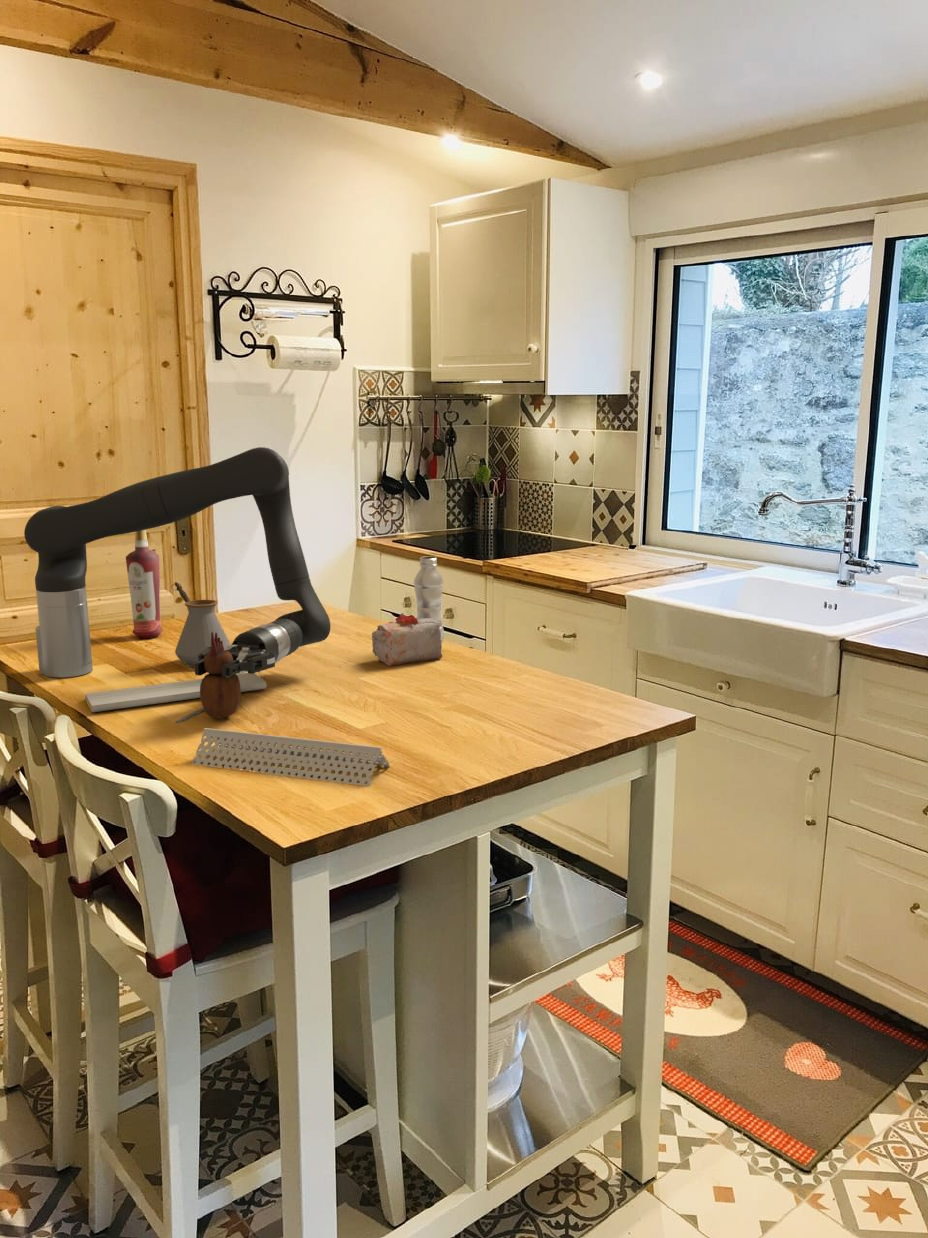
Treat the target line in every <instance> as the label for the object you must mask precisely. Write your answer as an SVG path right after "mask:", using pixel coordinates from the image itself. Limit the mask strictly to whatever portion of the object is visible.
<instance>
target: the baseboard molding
mask: <svg viewBox="0 0 928 1238" xmlns="http://www.w3.org/2000/svg"><path fill="white" fill-rule="evenodd" d="M257 673H258V674H260V672H257ZM257 673H253V674H249V673H248V672H244V673H242V674H238V673H237V674H236V675H237V676H238V678H239V681H240V689H241V693H244V692H252V691H258V690H265V689H267V687H268V686H267V684H268V683H267V681H266V680H264V679H263V678H265V676H264V675H263V674H261V676H262V677H263V678H261V677H260V676H259V675H258V674H257ZM202 679H203V678H197V679H190V680H189V679H188V680H183V681H182V680H180V681H175V682H173V681H172V682H167V683H166V682H165V683H158V684H157V683H156V684H150V685H142V686H135V687H128V688H121V689H120V688H119V689H112V690H104V691H95V692H88V693H84V701H85V702H86V704H87V706H88V707H89V710H90V711H91V713H97V712H106V711H111V710H119V709H127V708H128V709H129V708H134V707H142V706H150V705H156V704H164V703H171V702H177V701H186V700H193V699H201V698H200V685H201V682H202Z"/></svg>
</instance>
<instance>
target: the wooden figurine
mask: <svg viewBox="0 0 928 1238" xmlns="http://www.w3.org/2000/svg"><path fill="white" fill-rule="evenodd" d="M231 661H233V657H232V655H231V653H230V652H228V651H224V646H223V642H222V641H220V638H218V636H217V633H215V639H214V635H213V632H211V652H209V653H207V655H206V656H205V660H204V666H205V670H206V672H207V674H206V675H204V676H203V678H201V679H202V682H201V685H200V698H199V699H200V702H201V705H202V708H203V707H204V711H205V713H206V714H207V715H208V716H209V717H211V718H216V719H217V718H218V719H221V718H228V717H230V716H232V715H234V714H235V713H236V712H237V711H238V708H239V705H240V701H241V694H242V692H241V689H240V681H239V678H238V676H237V675H236V674H235V675H233V676H231V677H229V678H223V677H222V666H223V665H225V664H227V663H229V662H231Z"/></svg>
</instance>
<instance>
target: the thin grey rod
mask: <svg viewBox="0 0 928 1238" xmlns="http://www.w3.org/2000/svg"><path fill="white" fill-rule="evenodd" d="M203 710H204V707H203V706H202V707H201V708H199V709H197V710H195V711H193V712H191V713H189V714H188V715H185V716H183V717H181V718H180V719H178V720H177V719H176V720H175V723H176V722H180V723H182V722H185V721H186V720H188V719H190V718H192V717H194V716H196V715H198V714H200V713H202V712H204V711H205V710H204V711H203ZM201 711H202V712H201ZM199 712H200V713H199ZM197 713H198V714H197ZM195 714H196V715H195ZM193 715H194V716H193ZM191 716H192V717H191ZM189 717H190V718H189ZM185 719H186V720H185ZM181 721H182V722H181Z"/></svg>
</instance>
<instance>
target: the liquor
mask: <svg viewBox="0 0 928 1238" xmlns="http://www.w3.org/2000/svg"><path fill="white" fill-rule="evenodd" d="M134 533H135V535H134V536H135V541H134V542H135V543H134V550H133V551H131V552H130V553H128V554H127V555H126V556H125V565H126V571H127V573H126V574H127V581H128V585H129V586H128V587H129V595H130V602H131V603H130V604H131V611H132V621H133V630H132V634H133V635H135V637H136V638H138V639H141V640H145V639H146V640H149V639H156V638H158V637H159V636H160V635H161V634H162V633H163V631H164V629H163V627H162V621H161V594H160V593H161V590H160V589H161V587H160V586H161V585H160V583H161V581H160V579H161V576H160V575H161V574H160V573H161V572H160V554H158V553H156V551H153V550H150V549H149V548H150V547H149V543H148V537H147V529H146V530H142V531H137V532H134ZM155 637H156V638H155Z"/></svg>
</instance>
